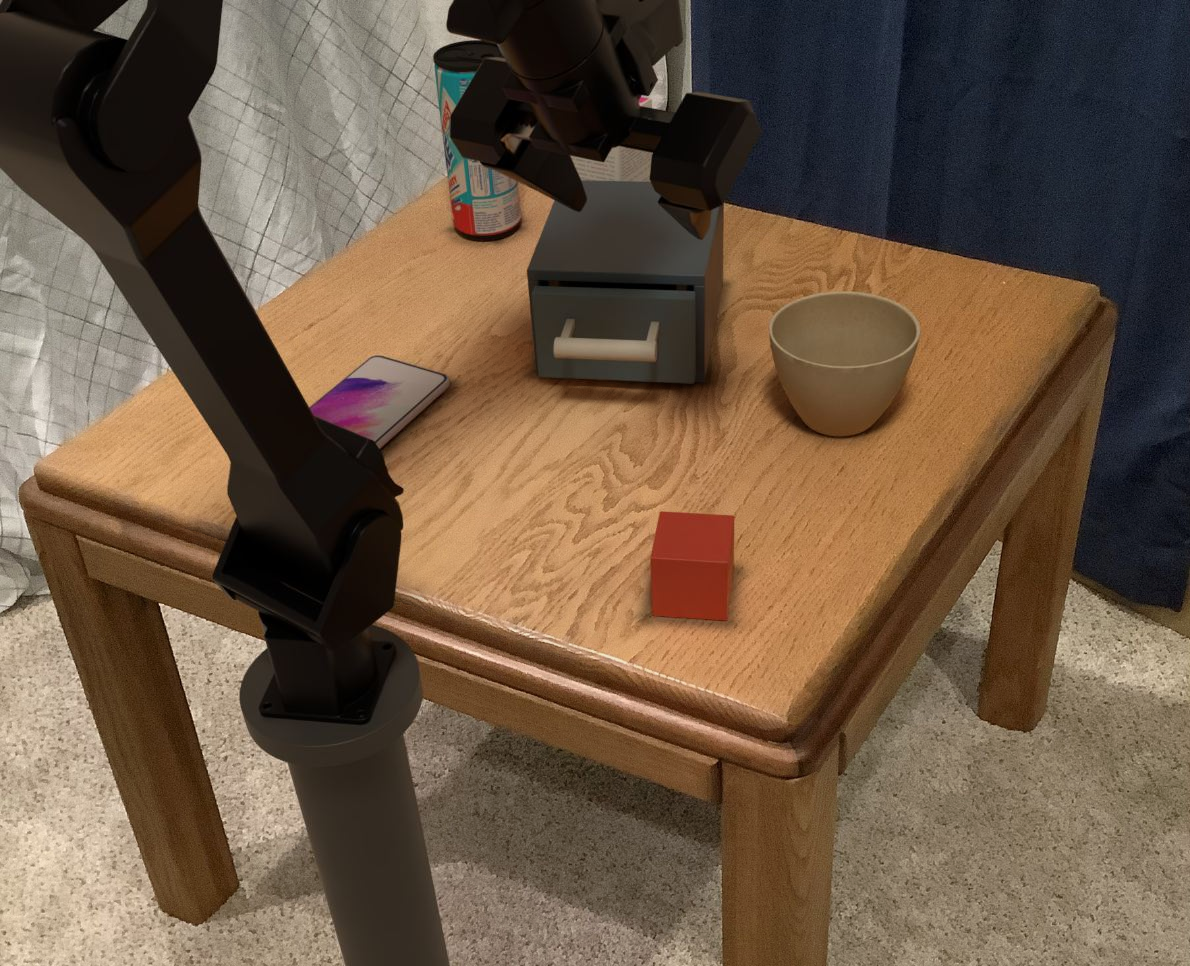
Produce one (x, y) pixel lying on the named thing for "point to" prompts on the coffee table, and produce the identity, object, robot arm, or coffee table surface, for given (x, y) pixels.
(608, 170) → the supplement box
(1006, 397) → the coffee table surface
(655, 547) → the block
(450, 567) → the coffee table surface
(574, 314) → the drawer
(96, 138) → the robot arm
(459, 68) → the teal canister
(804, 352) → the bowl
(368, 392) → the smartphone
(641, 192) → the cabinet
